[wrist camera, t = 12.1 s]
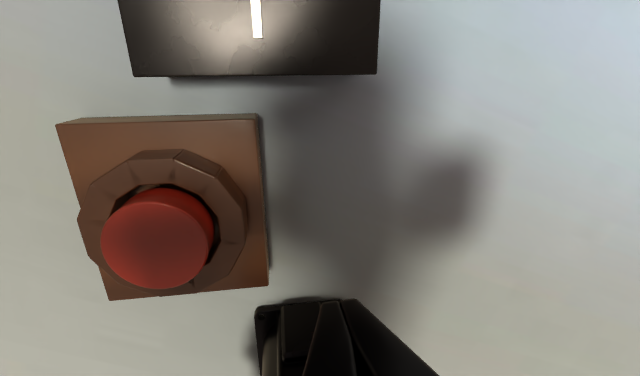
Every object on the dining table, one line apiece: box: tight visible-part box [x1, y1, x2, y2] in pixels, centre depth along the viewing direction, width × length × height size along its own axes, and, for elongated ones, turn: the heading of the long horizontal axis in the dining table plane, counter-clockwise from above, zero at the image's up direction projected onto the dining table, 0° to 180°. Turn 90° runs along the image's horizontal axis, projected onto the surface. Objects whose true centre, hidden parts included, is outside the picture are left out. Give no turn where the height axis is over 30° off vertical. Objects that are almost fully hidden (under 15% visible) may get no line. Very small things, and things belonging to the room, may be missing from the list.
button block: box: [55, 113, 269, 301], centre depth 17 cm, size 10×9×4 cm
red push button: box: [100, 188, 215, 289], centre depth 14 cm, size 4×4×2 cm
